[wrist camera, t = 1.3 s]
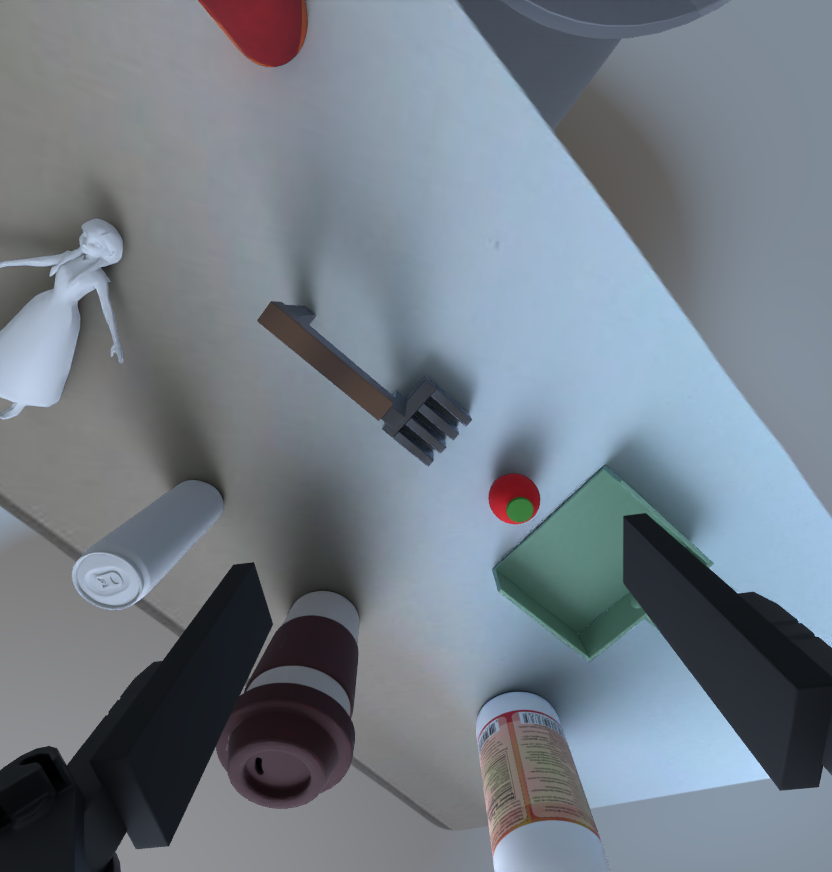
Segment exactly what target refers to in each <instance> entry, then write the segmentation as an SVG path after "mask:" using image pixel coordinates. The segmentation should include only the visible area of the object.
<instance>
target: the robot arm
mask: <svg viewBox="0 0 832 872" xmlns="http://www.w3.org/2000/svg"><path fill="white" fill-rule="evenodd" d="M623 584H624V585H625V586H626V588H627V589H628V590H629V592H630V593H631V594H632V596H633V597H634V598H635V599H636V601H637V602H638V603H639V605H640V606H641V607H642V609H643V610H644V611H645V613H646V614H647V615H648V617H649V618H650V619H651V621H652V622H653V623H654V625H655V626H656V627H657V629H658V630H659V631H660V633H661V634H662V635H663V636H664V638H665V639H666V640H667V642H668V643H669V644H670V646H671V647H672V648H673V650H674V651H675V652H676V654H677V655H678V656H679V658H680V659H681V660H682V662H683V663H684V664H685V666H686V667H687V668H688V670H689V671H690V672H691V673H692V675H693V676H694V677H695V679H696V680H697V681H698V683H699V684H700V685H701V687H702V688H703V689H704V691H705V692H706V693H707V695H708V696H709V697H710V699H711V700H712V701H713V703H714V704H715V705H716V707H717V708H718V709H719V710H720V712H721V713H722V714H723V716H724V717H725V718H726V720H727V721H728V722H729V724H730V725H731V726H732V728H733V729H734V730H735V732H736V733H737V734H738V736H739V737H740V738H741V740H742V741H743V742H744V744H745V745H746V746H747V747H748V749H749V750H750V751H751V753H752V754H753V755H754V757H755V758H756V759H757V761H758V762H759V763H760V765H761V766H762V767H763V769H764V770H765V771H766V773H767V774H768V775H769V777H770V778H771V779H772V781H773V782H774V783H775V784H776V786H777V787H778V788H779V790H792V789H803V788H814V787H819V783H820V779H821V773H822V769H823V766H824V767H825V768H826V769H827V770H828V771H829V773H830V774H831V775H832V648H831V647H830V646H829V645H828V644H826V643H825V642H824V641H823V640H821V639H820V638H819V637H815V636H814V633H813V632H812V631H810V630H809V629H808V628H807V627H805V626H804V625H803V624H802V623H798V620H797V619H796V618H794V617H793V616H792V615H791V614H789V613H788V612H787V611H786V610H784V609H783V608H782V607H781V606H779V605H778V604H776V603H774V602H772V601H771V600H769V599H767V598H765V597H763V596H761V595H759V594H757V593H755V592H748V593H739V594H738V593H736V592H735V591H734V590H733V589H732V588H731V587H730V586H728V585H727V584H726V583H725V582H724V581H723V580H722V579H720V578H719V577H718V576H717V575H716V574H715V573H714V572H713V571H711V570H710V569H709V568H708V567H707V566H706V565H705V564H703V563H702V562H701V561H700V560H699V559H698V558H697V557H695V556H694V555H693V554H692V553H691V552H690V551H689V550H688V549H686V548H685V547H684V546H683V545H682V544H681V543H680V542H678V541H677V540H676V539H675V538H674V537H673V536H672V535H670V534H669V533H668V532H667V531H666V530H665V529H664V528H662V527H661V526H660V525H659V524H658V523H657V522H656V521H655V520H653V519H652V518H651V517H650V516H649V515H648V514H647V513H641V514H633V515H625V516H623ZM272 625H273V623H272V619H271V616H270V613H269V610H268V606H267V603H266V600H265V597H264V593H263V590H262V587H261V584H260V580H259V577H258V574H257V571H256V567H255V564H254V562H252V563H245V564H237V565H233V566H232V568H231V569H230V570H229V572H228V573H227V574H226V576H225V577H224V578H223V580H222V581H221V582H220V584H219V585H218V587H217V588H216V589H215V591H214V592H213V593H212V595H211V596H210V597H209V599H208V600H207V601H206V603H205V604H204V605H203V607H202V608H201V610H200V611H199V612H198V614H197V615H196V616H195V618H194V619H193V620H192V622H191V623H190V624H189V626H188V627H187V629H186V630H185V631H184V633H183V634H182V635H181V637H180V638H179V639H178V641H177V642H176V643H175V645H174V646H173V648H172V649H171V650H170V652H169V653H168V654H167V656H166V657H165V658H164V660H163V661H159V662H153V663H152V664H151V665H150V666H148V667H147V668H146V669H145V670H144V671H143V672H142V673H140V674H139V675H138V676H137V677H136V678H135V679H134V680H133V681H132V682H131V684H130V685H129V686H128V687H127V689H126V690H125V691H124V693H123V694H122V695H121V698H120V700H118V701H117V702H116V703H115V704H114V705H113V707H112V708H111V709H110V711H109V714H108V715H107V716H105V717H104V718H103V720H102V721H101V722H100V723H99V725H98V726H97V727H96V729H95V730H94V731H93V732H92V734H91V735H90V737H89V738H88V739H87V740H86V742H85V743H84V744H83V745H82V747H81V748H80V749H79V750H78V752H77V753H76V754H75V756H74V757H73V758H72V760H71V761H70V762H69V763H68V765H66V763H65V762H64V760H63V758H62V756H61V754H60V753H59V751H58V749H57V748H54V747H50V746H47V747H42V748H37V749H35V750H33V751H30V752H28V753H26V754H24V755H22V756H20V757H19V758H17V759H16V760H14V761H13V762H11V763H10V764H8V765H7V766H5V767H4V768H3V769H1V770H0V872H121V871H120V861H119V859H118V857H117V854H116V852H115V851H116V850H117V848H118V846H119V844H120V843H121V840H122V839H123V837H124V835H125V834H126V832H127V833H128V835H129V837H130V839H131V841H132V842H133V845H134V846H135V848H136V849H142V848H154V847H165V846H169V845H170V843H171V841H172V839H173V836H174V834H175V832H176V830H177V828H178V826H179V823H180V821H181V819H182V817H183V815H184V813H185V811H186V809H187V807H188V804H189V802H190V800H191V798H192V796H193V794H194V792H195V789H196V787H197V785H198V783H199V781H200V779H201V777H202V774H203V772H204V770H205V768H206V766H207V764H208V762H209V760H210V757H211V755H212V753H213V751H214V749H215V747H216V745H217V743H218V740H219V738H220V736H221V734H222V732H223V730H224V728H225V726H226V723H227V721H228V719H229V717H230V715H231V713H232V711H233V708H234V706H235V704H236V702H237V700H238V698H239V696H240V694H241V691H242V689H243V687H244V685H245V683H246V681H247V679H248V677H249V674H250V672H251V670H252V668H253V666H254V664H255V662H256V659H257V657H258V655H259V653H260V651H261V649H262V647H263V645H264V642H265V640H266V638H267V636H268V634H269V632H270V630H271V627H272Z"/></svg>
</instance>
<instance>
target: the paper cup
mask: <svg viewBox="0 0 832 872" xmlns="http://www.w3.org/2000/svg"><path fill="white" fill-rule="evenodd" d="M198 1H199V2H200V3H201V4H202V6H203V7H204V8H205V9H206V11H207V12H208V13H209V14H210V16H211V17H212V18H213V19H214V20H215V22H216V23H217V24H218V25H219V27H220V28H221V29H222V30H223V31H224V33H225V34H226V35H227V36H228V37H229V39H230V40H231V41H232V42H233V43H234V45H235V46H236V47H237V48H238V49H239V50H240V51H241V52H242V53H243V54H244V55H245V56H246V57H247V58H248V59H250V60H251V61H253V62H254V63H256V64H259V65H261V66H265V67H277V66H281V65H284V64H286V63H288V62H289V61H291V60H292V59H293V58H294V57H295V56H296V55H297V54H298V52H299V51H300V49H301V47H302V45H303V43H304V40H305V37H306V33H307V24H308V20H307V9H306V4H305V0H198Z"/></svg>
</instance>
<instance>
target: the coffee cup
mask: <svg viewBox="0 0 832 872" xmlns="http://www.w3.org/2000/svg"><path fill="white" fill-rule="evenodd" d="M358 633H359V616H358V613H357V611H356V609H355V607H354V606H353V605H352V603H351V602H350V601H349V600H347V599H346V598H345V597H343V596H341V595H339V594H337V593H334V592H329V591H316V592H311V593H308V594H306V595H304V596H302V597H301V598H299V599H298V600H297V601H296V602H295V603H294V605H293V606H292V608H291V610H290V611H289V613H288V615H287V617H286V619H285V621H284V623H283V624H282V626H281V627H280V628H279V629H278V630H277V631H276V633H275V635H274V636H273V638H272V640H271V642H270V643H269V645H268V647H267V649H266V651H265V653H264V654H263V656H262V658H261V660H260V662H259V663H258V665H257V667H256V669H255V671H254V673H253V674H252V676H251V678H250V680H249V682H248V683H247V686H246V688H245V691H244V694H242V695H240V696H239V698H238V700H237V702H236V704H235V706H234V708H233V711H232V713H231V715H230V717H229V719H228V721H227V723H226V726H225V728H224V730H223V732H222V734H221V736H220V738H219V740H218V743H217V745H216V750H217V754H218V758H219V760H220V762H221V764H222V766H223V767H224V768H225V770H226V771H227V772H228V776H229V779H230V781H231V784H232V785H233V786H234V788H235V789H236V790H237V792H238V793H239V794H241V795H242V796H243V797H245V798H246V799H248V800H249V801H251V802H254V803H256V804H258V805H261V806H265V807H269V808H276V809H287V808H293V807H298V806H301V805H304V804H307V803H308V802H310V801H312V800H313V799H315V798H316V797H317V796H318V795H319V794H320V793H322V792H324V791H326V790H328V789H331V788H332V787H333V786H335V785H336V784H337V783H338V782H340V781H341V779H342V778H343V777H344V776H345V774H346V773H347V771H348V769H349V767H350V765H351V762H352V757H353V750H354V743H355V731H354V726H353V723H352V721H351V717H352V714H353V707H354V697H355V686H356V676H357V665H358V646H357V643H358Z"/></svg>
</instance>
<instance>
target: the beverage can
mask: <svg viewBox="0 0 832 872" xmlns="http://www.w3.org/2000/svg"><path fill="white" fill-rule="evenodd" d="M223 509H224V503H223V500H222V496H221V495H220V493H219V492H218V490H217V489H216V488H214V487H213V486H212V485H210V484H208V483H205V482H202V481H197V480H188V481H184V482H182V483H180V484H178V485H177V486H176V487H174V488H173V489H171V490H170V491H169V492H167V493H166V494H164V495H163V496H162V497H160V498H159V499H157V500H156V501H155V502H153V503H152V504H150V505H149V506H148V507H146V508H145V509H143V510H142V511H141V512H139V513H138V514H136V515H135V516H134V517H132V518H131V519H129V520H128V521H127V522H125V523H124V524H123V525H121V526H120V527H118V528H117V529H116V530H114V531H113V532H111V533H110V534H109V535H107V536H106V537H104V538H103V539H102V540H100V541H99V542H97V543H96V544H95V545H93V546H92V547H90V548H89V549H88V550H87V551H86V552H85V553H84V554H83V555H82V557H80V558H79V559H78V560H77V561H76V563H75V564H74V566H73V569H72V579H73V583H74V586H75V588H76V590H77V591H78V592H79V594H80V595H81V596H82V597H83V598H84V599H86V600H87V601H88V602H89V603H91V604H93V605H95V606H97V607H100V608H103V609H107V610H121V609H125V608H128V607H130V606H132V605H133V604H134V603H136V602H137V601H139V600H140V599H142V598H143V597H144V596H145V595H146V594H147V593H148V592H149V591H150V590H151V589H152V588H153V587H154V586H155V585H156V584H157V583H158V582H159V581H160V580H161V579H162V578H163V577H164V576H165V575H166V574H167V572H168V571H169V570H170V569H171V568H172V567H173V566H174V565H175V564H176V563H177V562H178V561H179V559H180V558H181V557H182V556H183V555H184V554H185V553H186V552H187V551H188V550H189V549H190V548H191V547H192V546H193V545H194V544H195V542H196V541H197V540H198V539H199V538H200V537H201V536H202V535H203V534H204V533H205V532H206V531H207V530H208V529H209V528H210V527H211V526H212V525H213V524H214V523H215V522H216V521H217V520H218V519H219V517H220V516H221V515H222V512H223Z"/></svg>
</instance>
